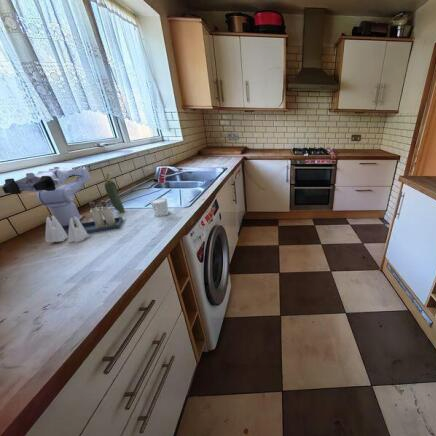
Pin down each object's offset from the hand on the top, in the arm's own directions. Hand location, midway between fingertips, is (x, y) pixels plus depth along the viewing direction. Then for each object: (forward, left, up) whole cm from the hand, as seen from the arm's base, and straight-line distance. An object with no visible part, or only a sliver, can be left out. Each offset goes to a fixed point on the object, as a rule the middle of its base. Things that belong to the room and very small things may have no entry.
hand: (20, 188), depth 77 cm
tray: (-6, +10, -22) cm, 25 cm away
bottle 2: (-6, +19, -21) cm, 29 cm away
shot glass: (-11, +38, -22) cm, 45 cm away
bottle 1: (-6, +15, -21) cm, 27 cm away
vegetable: (-22, +19, -22) cm, 36 cm away
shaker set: (+2, +6, -22) cm, 23 cm away
